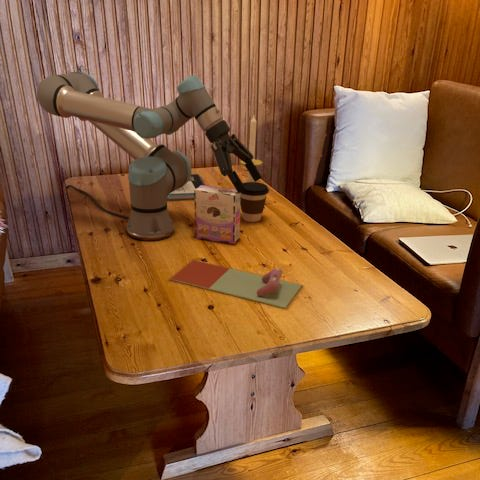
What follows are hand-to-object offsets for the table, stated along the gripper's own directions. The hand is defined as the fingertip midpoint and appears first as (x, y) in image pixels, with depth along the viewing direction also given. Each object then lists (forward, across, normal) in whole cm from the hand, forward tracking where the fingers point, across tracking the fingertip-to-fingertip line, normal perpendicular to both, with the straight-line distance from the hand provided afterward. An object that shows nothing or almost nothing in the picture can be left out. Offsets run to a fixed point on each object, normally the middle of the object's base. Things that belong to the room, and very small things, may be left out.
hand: (250, 185), depth 169 cm
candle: (+6, +32, +21) cm, 38 cm away
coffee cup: (+10, +15, +14) cm, 23 cm away
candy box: (+8, -7, +17) cm, 20 cm away
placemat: (+20, -33, +3) cm, 39 cm away
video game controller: (+26, -33, -5) cm, 43 cm away
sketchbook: (-14, +32, +45) cm, 57 cm away
